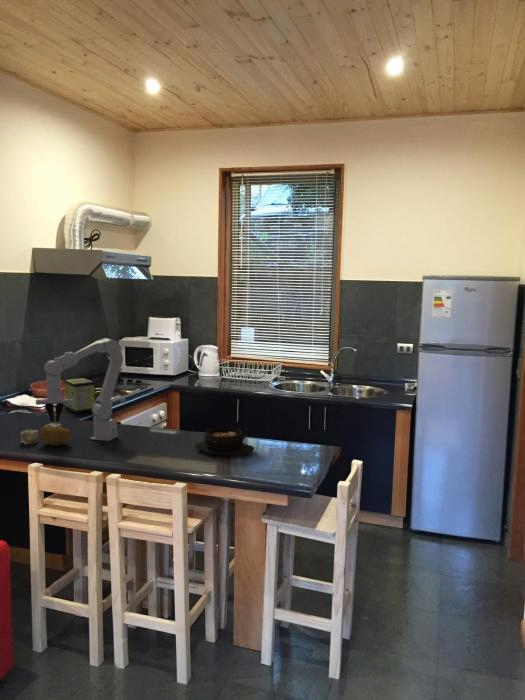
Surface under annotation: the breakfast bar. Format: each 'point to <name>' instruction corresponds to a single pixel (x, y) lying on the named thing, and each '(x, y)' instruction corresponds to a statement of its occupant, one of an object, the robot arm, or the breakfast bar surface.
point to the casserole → (224, 442)
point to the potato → (55, 435)
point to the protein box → (79, 394)
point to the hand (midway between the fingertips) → (55, 421)
